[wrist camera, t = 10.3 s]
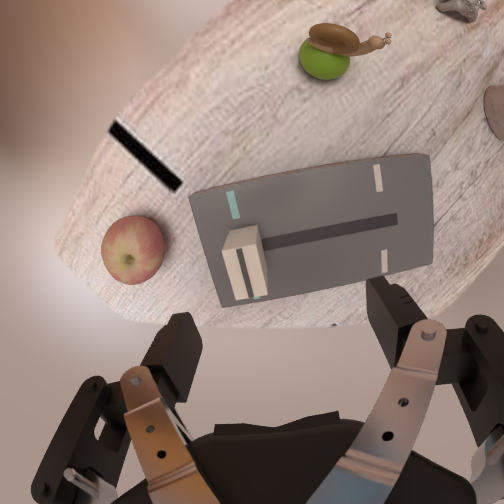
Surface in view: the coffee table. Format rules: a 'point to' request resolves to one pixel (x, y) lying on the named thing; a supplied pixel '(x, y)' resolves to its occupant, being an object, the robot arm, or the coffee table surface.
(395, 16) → the coffee table surface
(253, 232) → the fader
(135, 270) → the apple
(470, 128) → the coffee table surface
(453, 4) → the grey animal figurine
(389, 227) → the fader console
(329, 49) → the snail figurine
